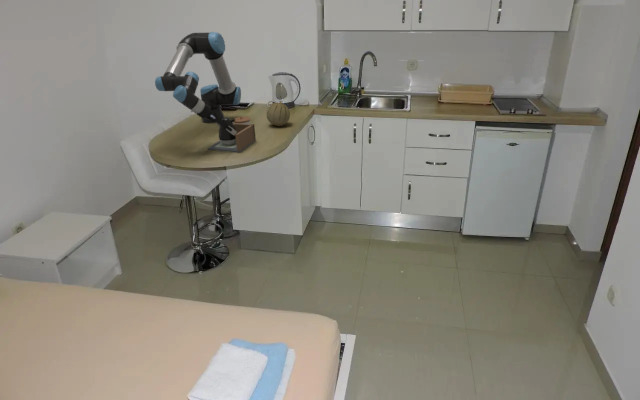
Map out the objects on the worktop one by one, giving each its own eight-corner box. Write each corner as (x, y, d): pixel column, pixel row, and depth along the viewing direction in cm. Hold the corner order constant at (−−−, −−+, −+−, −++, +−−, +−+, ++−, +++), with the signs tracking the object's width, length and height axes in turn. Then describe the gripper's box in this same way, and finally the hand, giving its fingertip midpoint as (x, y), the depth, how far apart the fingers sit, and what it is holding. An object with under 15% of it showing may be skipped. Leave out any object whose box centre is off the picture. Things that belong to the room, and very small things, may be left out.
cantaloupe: (263, 128, 283) (261, 104, 276) (273, 121, 295) (271, 99, 289) (285, 129, 278) (283, 105, 272) (294, 123, 290) (292, 100, 284)
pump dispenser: (235, 146, 247) (232, 119, 240) (217, 146, 248) (213, 119, 241) (240, 141, 256) (237, 115, 249) (223, 141, 257) (219, 115, 251)
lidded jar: (232, 130, 281) (230, 115, 277) (248, 127, 284) (247, 113, 280) (236, 134, 272) (234, 119, 268) (253, 132, 275) (251, 117, 271)
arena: (207, 150, 247) (204, 132, 243) (225, 139, 264) (222, 122, 260) (240, 152, 241) (237, 134, 237) (255, 141, 259) (254, 124, 254)
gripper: (189, 109, 245) (218, 131, 259) (204, 119, 226) (235, 141, 240) (196, 98, 246) (226, 120, 259) (213, 106, 226) (243, 130, 240)
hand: (230, 130), depth 249 cm, fingers open, 13 cm apart
